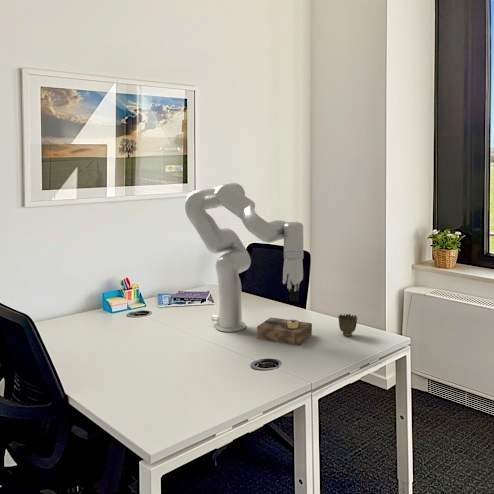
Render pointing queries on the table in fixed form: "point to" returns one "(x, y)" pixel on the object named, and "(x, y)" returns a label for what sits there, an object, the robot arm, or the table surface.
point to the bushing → (292, 324)
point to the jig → (284, 331)
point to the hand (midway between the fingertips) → (294, 300)
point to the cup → (347, 324)
